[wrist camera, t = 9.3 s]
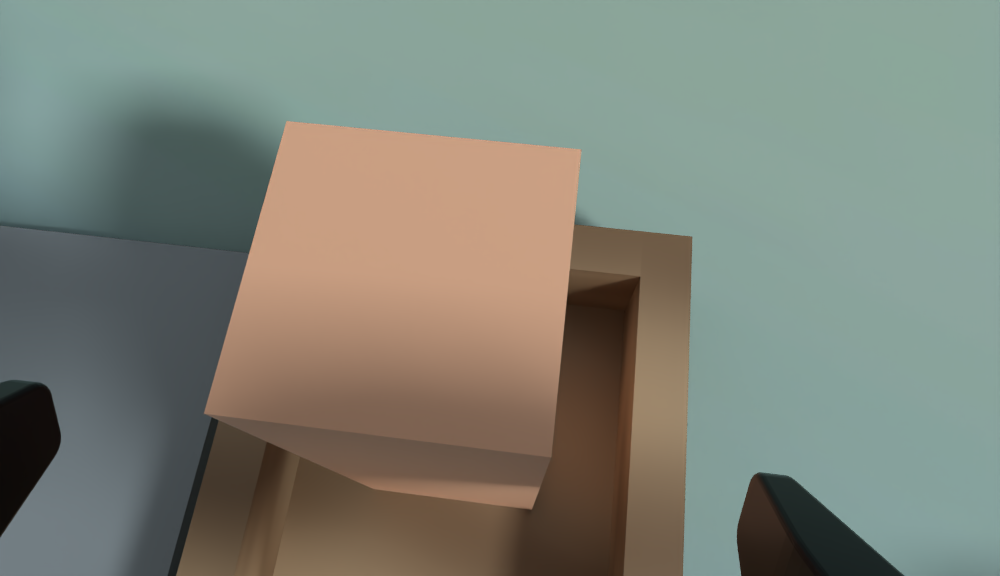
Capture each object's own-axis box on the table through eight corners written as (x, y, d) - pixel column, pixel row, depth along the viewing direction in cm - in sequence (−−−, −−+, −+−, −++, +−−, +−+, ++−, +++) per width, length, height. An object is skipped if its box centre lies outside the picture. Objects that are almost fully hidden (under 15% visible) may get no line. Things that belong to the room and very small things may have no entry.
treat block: (531, 510, 17) (551, 457, 8) (373, 488, 17) (203, 413, 8) (548, 354, 18) (581, 149, 9) (401, 337, 19) (286, 121, 9)
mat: (161, 640, 16) (148, 642, 16) (-221, 583, 17) (-247, 584, 17) (264, 262, 20) (256, 254, 19) (-56, 226, 21) (-71, 218, 20)
